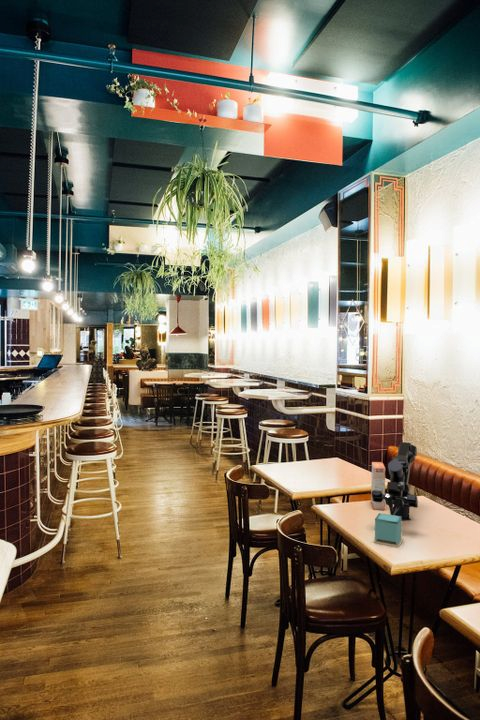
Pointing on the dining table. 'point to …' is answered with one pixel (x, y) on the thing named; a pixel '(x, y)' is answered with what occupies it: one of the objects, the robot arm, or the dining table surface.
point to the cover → (388, 527)
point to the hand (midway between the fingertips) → (391, 516)
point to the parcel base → (389, 542)
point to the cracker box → (378, 483)
